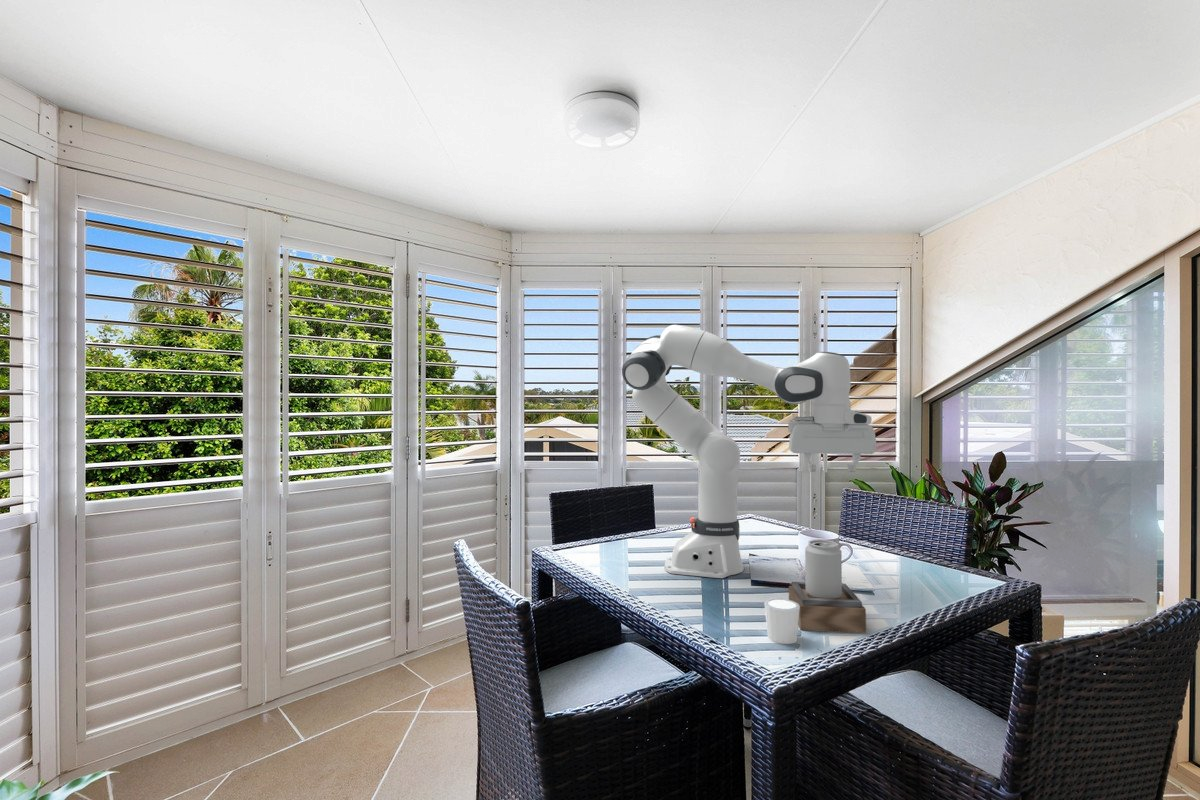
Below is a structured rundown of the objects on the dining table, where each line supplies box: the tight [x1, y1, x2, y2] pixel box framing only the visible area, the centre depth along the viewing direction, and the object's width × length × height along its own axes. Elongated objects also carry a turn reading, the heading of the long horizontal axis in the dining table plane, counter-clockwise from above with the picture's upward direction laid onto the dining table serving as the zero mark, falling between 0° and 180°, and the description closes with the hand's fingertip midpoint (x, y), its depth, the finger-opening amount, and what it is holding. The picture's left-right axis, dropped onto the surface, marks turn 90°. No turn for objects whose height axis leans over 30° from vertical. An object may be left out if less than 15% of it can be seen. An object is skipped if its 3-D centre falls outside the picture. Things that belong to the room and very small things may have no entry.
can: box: [804, 539, 843, 599], centre depth 123 cm, size 8×8×12 cm
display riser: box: [788, 581, 867, 634], centre depth 123 cm, size 13×13×6 cm
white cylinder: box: [764, 598, 800, 645], centre depth 114 cm, size 7×7×7 cm
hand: (831, 471), depth 140 cm, fingers open, 8 cm apart
